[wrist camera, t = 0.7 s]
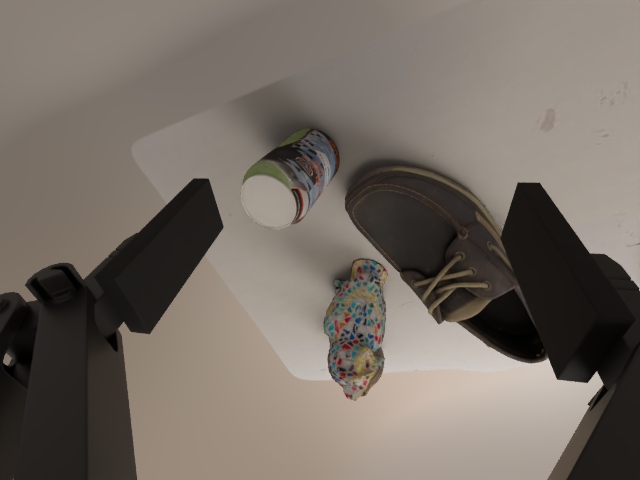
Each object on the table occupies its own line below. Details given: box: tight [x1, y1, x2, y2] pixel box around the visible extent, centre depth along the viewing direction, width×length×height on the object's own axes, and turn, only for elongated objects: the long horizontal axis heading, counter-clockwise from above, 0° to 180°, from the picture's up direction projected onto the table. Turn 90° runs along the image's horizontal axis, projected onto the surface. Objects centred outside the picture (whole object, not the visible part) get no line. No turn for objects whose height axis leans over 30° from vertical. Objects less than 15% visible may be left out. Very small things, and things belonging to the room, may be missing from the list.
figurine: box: [324, 259, 388, 401], centre depth 41 cm, size 9×9×15 cm
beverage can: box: [240, 128, 340, 229], centre depth 31 cm, size 6×7×12 cm
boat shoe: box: [345, 166, 548, 363], centre depth 35 cm, size 11×29×11 cm, turn 57°
